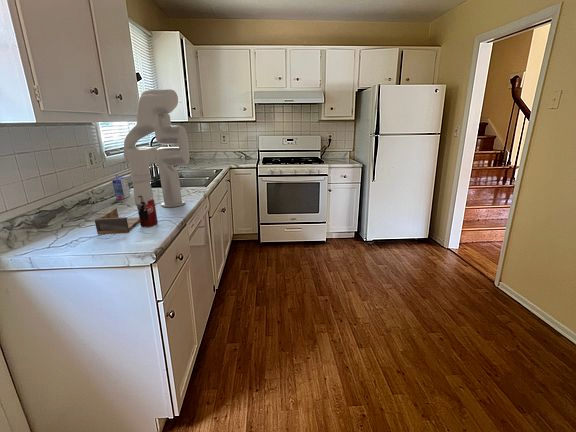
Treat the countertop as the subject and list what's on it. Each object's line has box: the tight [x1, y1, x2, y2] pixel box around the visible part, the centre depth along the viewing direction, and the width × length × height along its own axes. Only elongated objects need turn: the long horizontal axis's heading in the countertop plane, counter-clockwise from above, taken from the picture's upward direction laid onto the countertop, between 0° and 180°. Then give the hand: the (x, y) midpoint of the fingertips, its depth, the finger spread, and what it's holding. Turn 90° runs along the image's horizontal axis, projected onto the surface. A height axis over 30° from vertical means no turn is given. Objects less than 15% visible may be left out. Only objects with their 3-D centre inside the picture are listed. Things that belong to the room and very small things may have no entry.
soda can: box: [136, 197, 159, 229], centre depth 136 cm, size 7×7×12 cm
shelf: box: [94, 207, 140, 236], centre depth 136 cm, size 18×12×6 cm, turn 6°
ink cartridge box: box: [111, 174, 131, 200], centre depth 191 cm, size 10×6×14 cm, turn 7°
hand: (148, 216), depth 137 cm, fingers open, 8 cm apart
